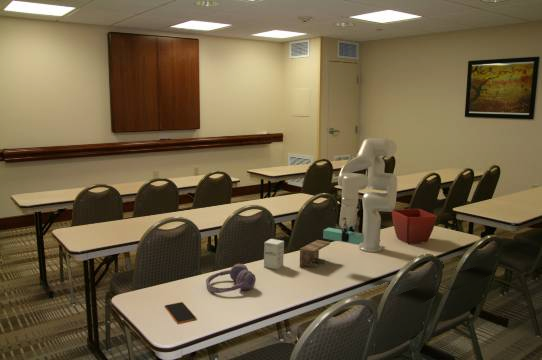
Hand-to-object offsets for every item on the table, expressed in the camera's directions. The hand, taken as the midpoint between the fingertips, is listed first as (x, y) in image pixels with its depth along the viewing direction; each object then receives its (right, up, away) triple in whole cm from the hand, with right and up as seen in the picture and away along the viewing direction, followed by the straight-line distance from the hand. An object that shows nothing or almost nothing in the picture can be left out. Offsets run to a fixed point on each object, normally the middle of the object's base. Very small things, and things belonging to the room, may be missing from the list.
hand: (347, 239), depth 218 cm
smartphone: (-70, -22, -44) cm, 86 cm away
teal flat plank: (-2, 0, +1) cm, 3 cm away
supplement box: (-35, -14, +7) cm, 38 cm away
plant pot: (+47, -8, +55) cm, 73 cm away
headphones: (-54, -18, -19) cm, 60 cm away
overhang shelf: (-15, -14, +12) cm, 23 cm away
